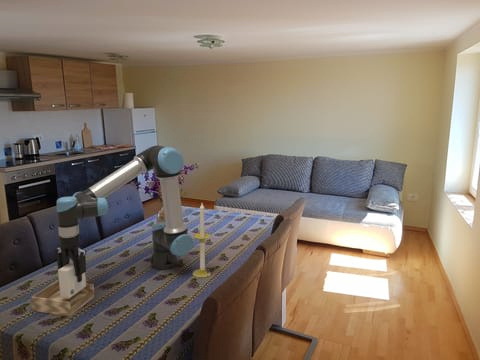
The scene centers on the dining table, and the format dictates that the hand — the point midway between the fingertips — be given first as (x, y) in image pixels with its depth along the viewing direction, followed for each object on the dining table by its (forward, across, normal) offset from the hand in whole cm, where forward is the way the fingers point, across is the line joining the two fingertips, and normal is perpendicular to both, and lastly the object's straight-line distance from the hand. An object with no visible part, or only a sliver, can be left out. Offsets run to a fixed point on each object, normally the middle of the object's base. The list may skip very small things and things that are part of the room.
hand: (73, 287), depth 153 cm
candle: (+8, -42, -42) cm, 60 cm away
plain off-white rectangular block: (+2, 0, 0) cm, 2 cm away
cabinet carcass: (+8, +5, 0) cm, 9 cm away
